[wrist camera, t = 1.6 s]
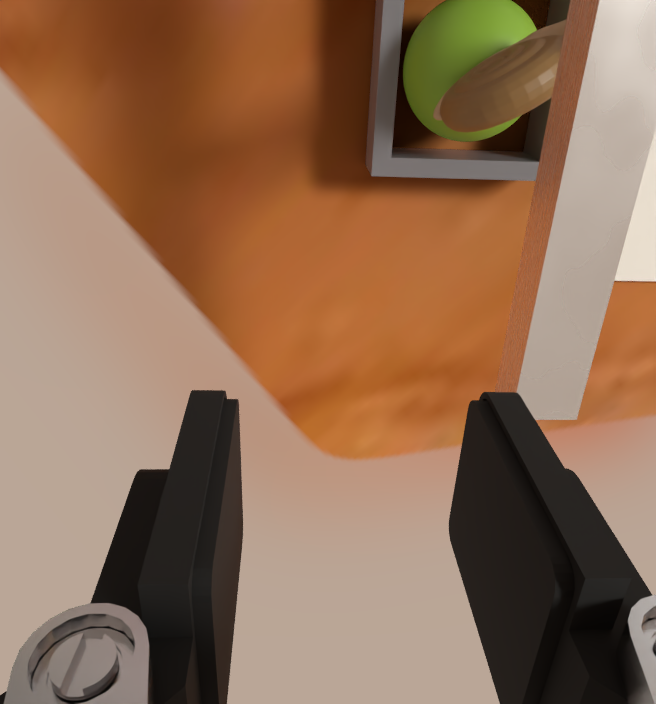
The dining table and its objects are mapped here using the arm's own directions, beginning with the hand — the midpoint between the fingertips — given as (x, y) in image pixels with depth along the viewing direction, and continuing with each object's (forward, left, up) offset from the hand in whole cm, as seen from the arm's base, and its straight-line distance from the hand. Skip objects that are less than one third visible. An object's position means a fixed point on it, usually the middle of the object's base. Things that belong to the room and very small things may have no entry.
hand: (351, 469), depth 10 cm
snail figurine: (-5, +6, -21) cm, 23 cm away
